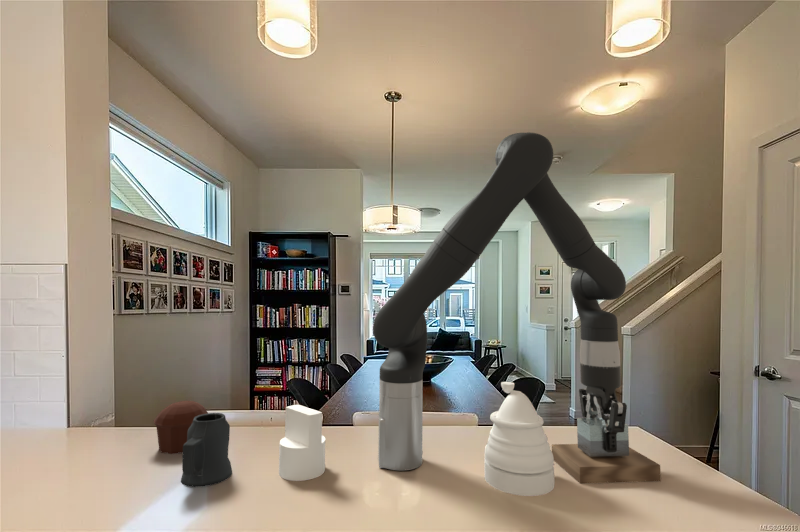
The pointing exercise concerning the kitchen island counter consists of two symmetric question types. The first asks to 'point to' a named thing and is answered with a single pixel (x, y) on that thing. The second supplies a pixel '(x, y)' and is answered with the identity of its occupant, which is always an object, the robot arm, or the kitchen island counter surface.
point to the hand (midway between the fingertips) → (602, 446)
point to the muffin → (176, 425)
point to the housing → (599, 438)
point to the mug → (206, 451)
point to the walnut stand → (605, 466)
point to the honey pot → (518, 448)
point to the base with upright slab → (302, 445)
